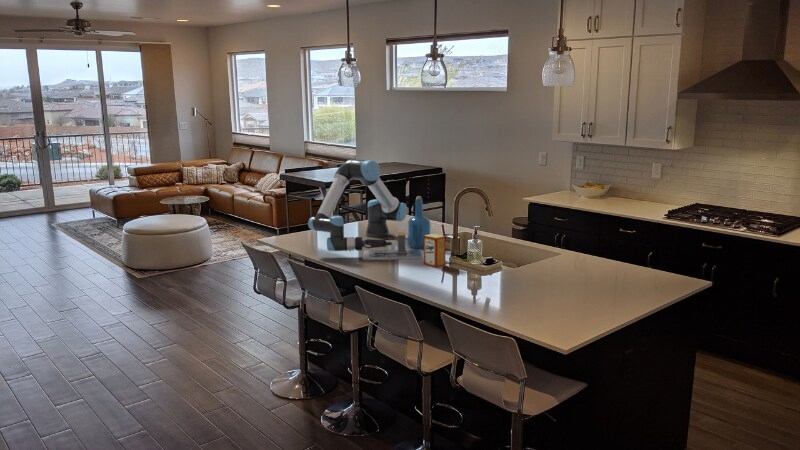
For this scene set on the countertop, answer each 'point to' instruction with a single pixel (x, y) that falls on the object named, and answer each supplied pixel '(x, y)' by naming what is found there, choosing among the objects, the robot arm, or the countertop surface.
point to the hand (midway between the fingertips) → (397, 242)
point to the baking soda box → (434, 250)
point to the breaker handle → (401, 243)
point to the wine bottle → (418, 226)
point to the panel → (391, 254)
